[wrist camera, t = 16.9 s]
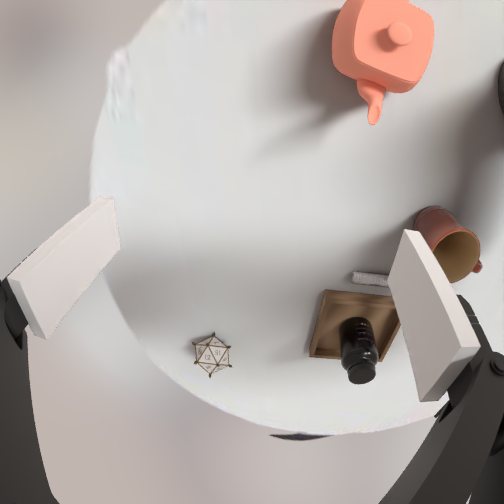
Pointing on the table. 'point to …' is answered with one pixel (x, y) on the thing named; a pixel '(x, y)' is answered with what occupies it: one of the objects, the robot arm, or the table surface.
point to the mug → (449, 242)
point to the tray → (348, 306)
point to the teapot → (382, 47)
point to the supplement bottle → (358, 349)
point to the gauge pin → (369, 279)
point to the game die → (212, 355)
